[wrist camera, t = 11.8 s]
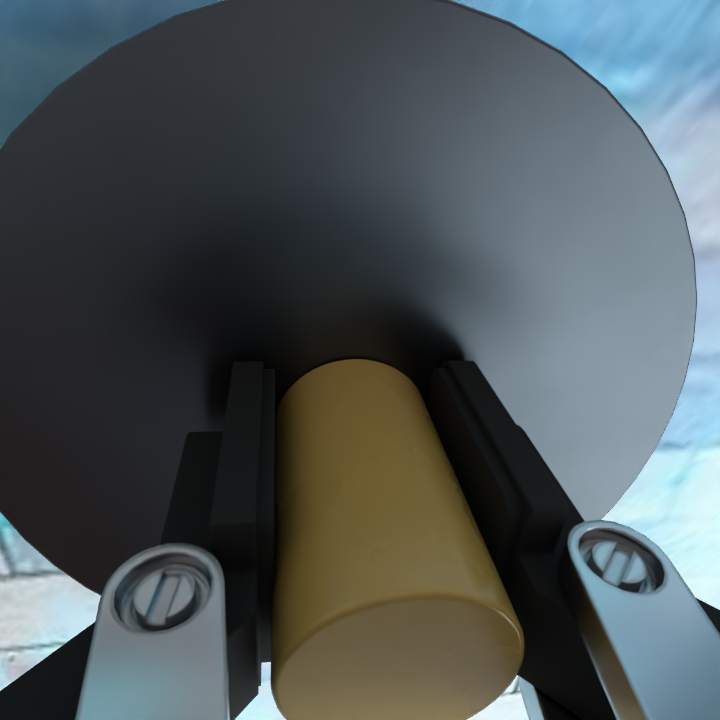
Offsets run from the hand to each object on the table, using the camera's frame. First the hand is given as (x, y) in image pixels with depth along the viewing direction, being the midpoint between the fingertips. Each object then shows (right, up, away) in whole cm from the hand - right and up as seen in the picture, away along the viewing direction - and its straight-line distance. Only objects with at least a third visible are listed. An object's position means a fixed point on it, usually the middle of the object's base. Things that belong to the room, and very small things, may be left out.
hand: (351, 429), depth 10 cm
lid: (0, 0, +1) cm, 1 cm away
